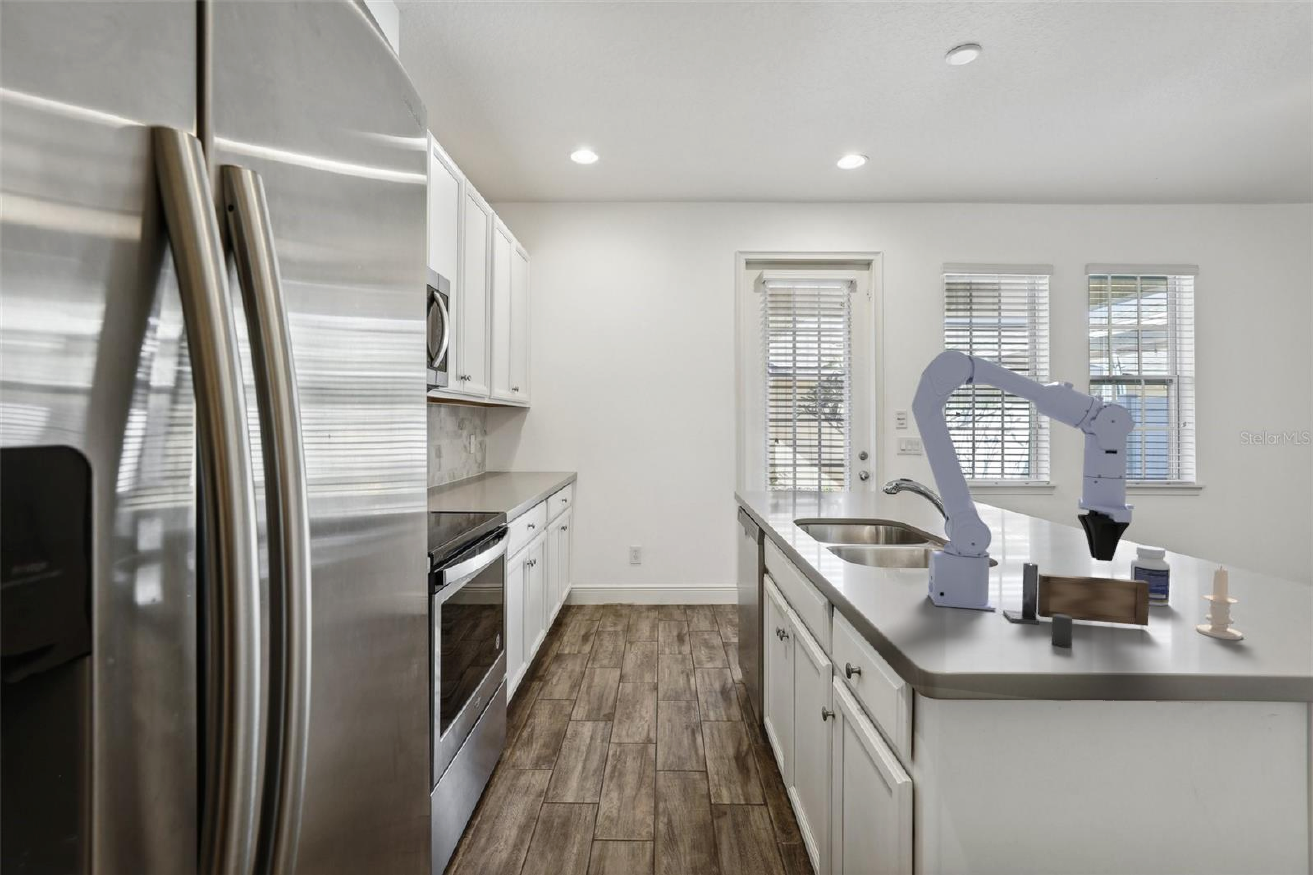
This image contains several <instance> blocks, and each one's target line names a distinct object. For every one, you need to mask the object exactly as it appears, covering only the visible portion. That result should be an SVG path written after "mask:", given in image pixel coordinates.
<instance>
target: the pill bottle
mask: <svg viewBox="0 0 1313 875" xmlns="http://www.w3.org/2000/svg"><path fill="white" fill-rule="evenodd" d="M1136 555H1137V557H1134V558H1132V559H1131V562H1130V580H1144V581H1146V582H1148V583H1150V585H1149V606H1156V607H1162V606H1163V607H1166V606H1168V605H1169V602H1170V585H1171V584H1170V576H1171V566H1170V563H1168V562H1167V561H1165V560H1164V558H1165V557H1166V549H1165V548H1163V547H1158V546H1153V545H1151V546H1150V545H1137V546H1136Z"/></svg>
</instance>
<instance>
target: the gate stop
mask: <svg viewBox="0 0 1313 875" xmlns="http://www.w3.org/2000/svg"><path fill="white" fill-rule="evenodd" d="M1073 620H1074V619H1073V618H1072V617H1070V616H1067V615H1062V614H1053V615H1052V619H1051V622H1052V623H1051V624H1052V625H1051V627H1052V628H1051V644H1052V645H1054V646H1057V647H1061V648H1071V647H1072V646H1073V645H1072V644H1073V643H1072V642H1073Z"/></svg>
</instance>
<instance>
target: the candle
mask: <svg viewBox="0 0 1313 875" xmlns="http://www.w3.org/2000/svg"><path fill="white" fill-rule="evenodd" d="M1228 572H1229V571H1228V569H1225V568H1224V569H1222V565H1221V566H1220V568H1219V569H1215V570H1214V573H1213V574H1214V575H1213V585H1212V595H1211V594H1205V595H1203V596H1202V598H1204V599H1206V600H1208V601H1209V602H1210V607H1209V610H1210V611H1209V612H1210V614H1205V620H1207V621H1210V623H1209V624H1198V625H1196V631H1197V632H1198V633H1200V634H1202V635H1205V636H1207V637H1208V636H1209V637H1212V638H1215V639H1216V638H1217V639H1222V640H1223V639H1224V640H1229V641H1230V640H1232V641H1237V640H1242V639H1243V637H1244V636H1243V633H1242V632H1240V631H1238V630H1235V629H1233V628H1230V627H1229V625H1231V624H1234V623H1235V620H1234V619H1233V618H1232V617H1229V616H1230V612H1231V610H1230V607H1231V605H1232V604H1236V603H1237V604H1238V602H1239V601H1238V600H1237V599H1234V598H1230V597H1228V594H1229V592H1228V590H1229V589H1228V588H1229V575H1228V574H1229V573H1228Z"/></svg>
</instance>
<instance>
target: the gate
mask: <svg viewBox="0 0 1313 875" xmlns="http://www.w3.org/2000/svg"><path fill="white" fill-rule="evenodd" d="M1149 585H1150V583H1148V582H1146V581H1144V580H1131V579H1127V578H1126V579H1125V578H1112V577H1111V578H1110V577H1109V578H1108V577H1097V576H1082V575H1079V576H1078V575H1065V574H1064V575H1063V574H1049V573H1048V574H1047V573H1038V581H1037V615H1038V616H1039V617H1040V618H1049V619H1051V618H1052V615H1053V614H1062V615H1067V616H1070V617H1072V618H1073V619H1072V620H1074V621H1075V620H1076V621H1085V622H1086V621H1087V622H1097V623H1098V622H1100V623H1101V622H1102V623H1112V624H1113V623H1114V624H1123V625H1124V624H1126V625H1135V626H1145V627H1146V626H1149V609H1150V608H1149V607H1150V605H1149Z"/></svg>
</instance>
